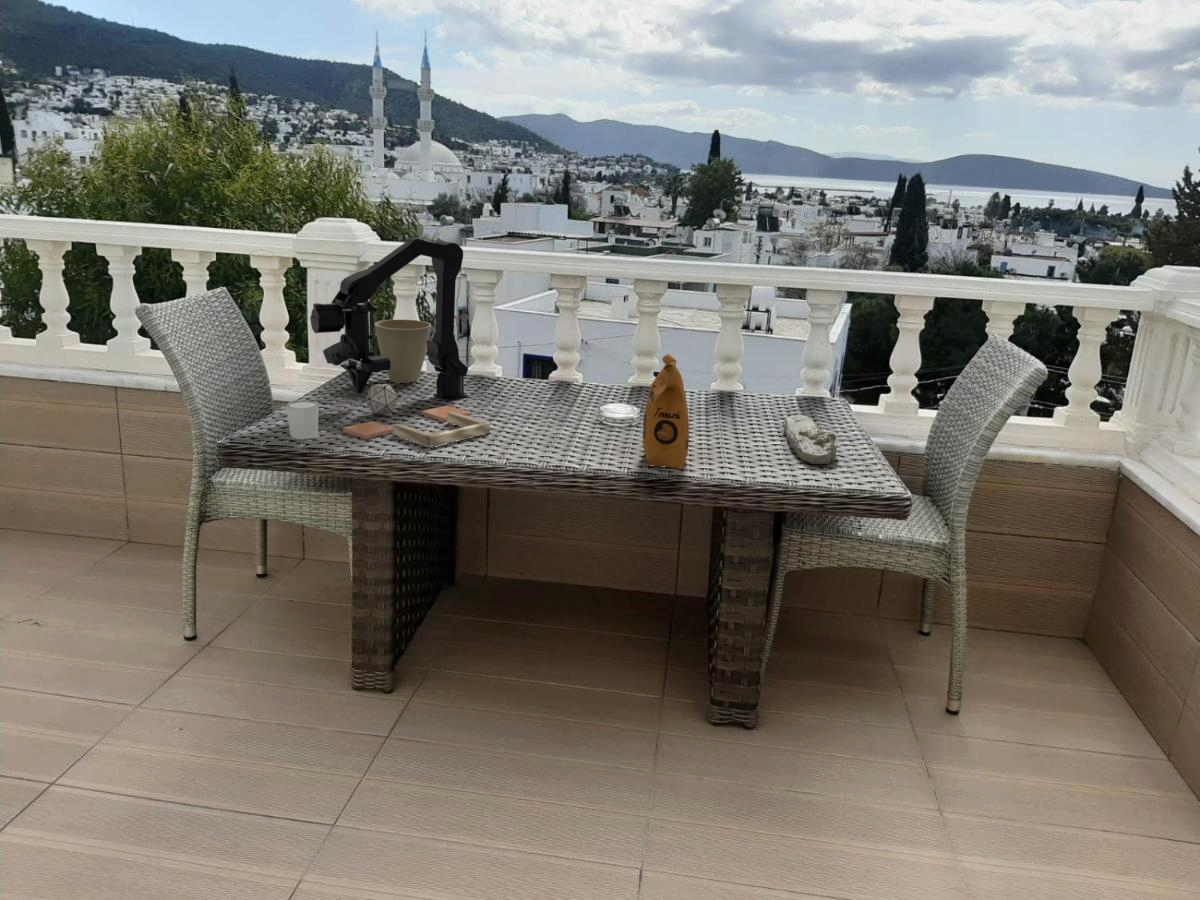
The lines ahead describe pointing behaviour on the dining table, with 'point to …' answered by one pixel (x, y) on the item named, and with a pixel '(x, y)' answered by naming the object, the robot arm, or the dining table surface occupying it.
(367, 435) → the tile
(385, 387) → the game die
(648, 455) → the coffee package
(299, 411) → the shot glass
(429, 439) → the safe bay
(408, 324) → the plant pot
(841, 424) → the dining table surface
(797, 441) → the elongated rock
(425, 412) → the tile
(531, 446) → the dining table surface
